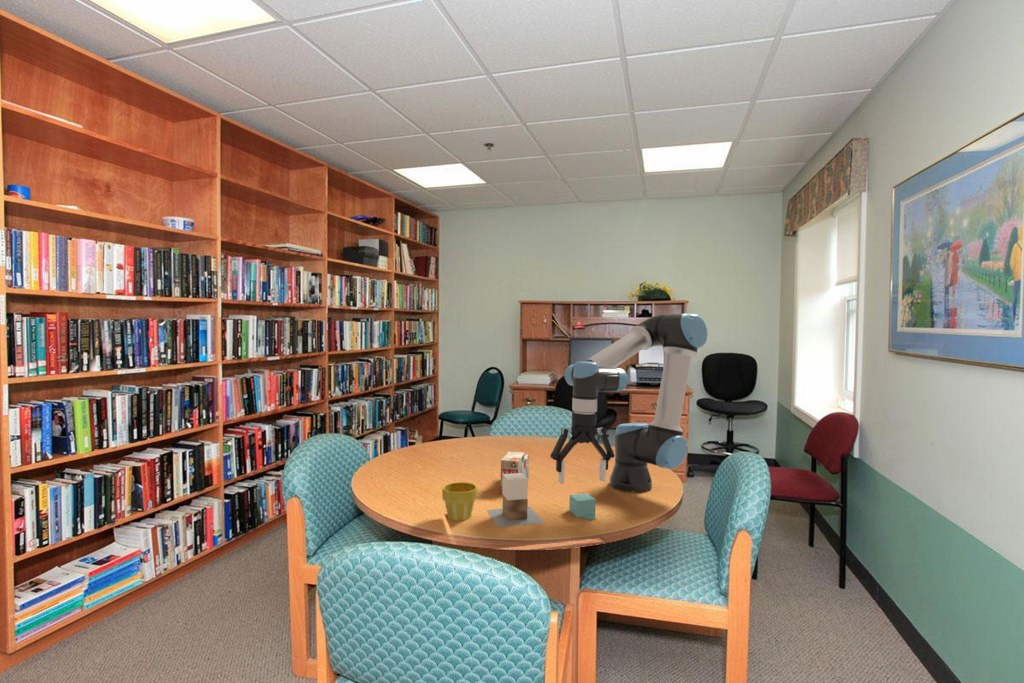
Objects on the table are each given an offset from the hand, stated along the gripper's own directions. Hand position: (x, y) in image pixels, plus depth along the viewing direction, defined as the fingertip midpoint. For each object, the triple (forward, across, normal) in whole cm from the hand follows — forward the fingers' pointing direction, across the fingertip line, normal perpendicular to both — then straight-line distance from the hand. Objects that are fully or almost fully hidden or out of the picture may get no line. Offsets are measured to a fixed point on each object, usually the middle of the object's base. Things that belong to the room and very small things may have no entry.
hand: (581, 481), depth 155 cm
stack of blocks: (+11, +11, -33) cm, 37 cm away
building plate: (+11, +20, -2) cm, 23 cm away
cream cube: (+4, +21, -2) cm, 21 cm away
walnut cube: (+10, +20, -2) cm, 23 cm away
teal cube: (+11, -1, 0) cm, 11 cm away
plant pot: (+12, +36, -6) cm, 39 cm away
